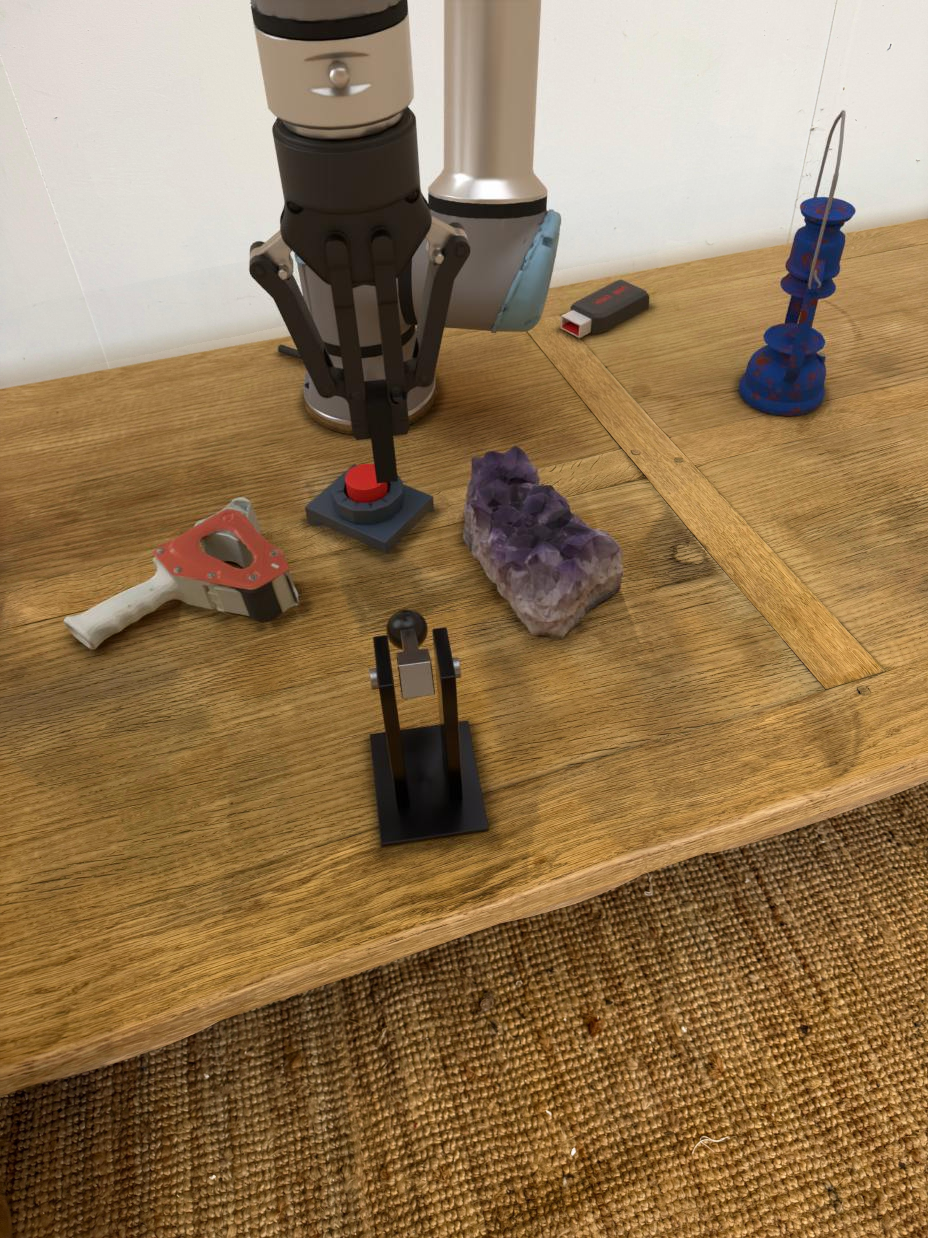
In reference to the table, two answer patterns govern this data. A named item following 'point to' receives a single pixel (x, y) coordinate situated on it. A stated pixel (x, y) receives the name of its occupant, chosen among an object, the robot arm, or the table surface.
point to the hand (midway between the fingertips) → (385, 469)
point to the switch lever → (411, 653)
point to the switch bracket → (424, 760)
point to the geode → (536, 545)
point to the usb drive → (605, 309)
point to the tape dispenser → (202, 577)
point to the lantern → (801, 309)
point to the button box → (370, 513)
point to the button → (364, 484)
